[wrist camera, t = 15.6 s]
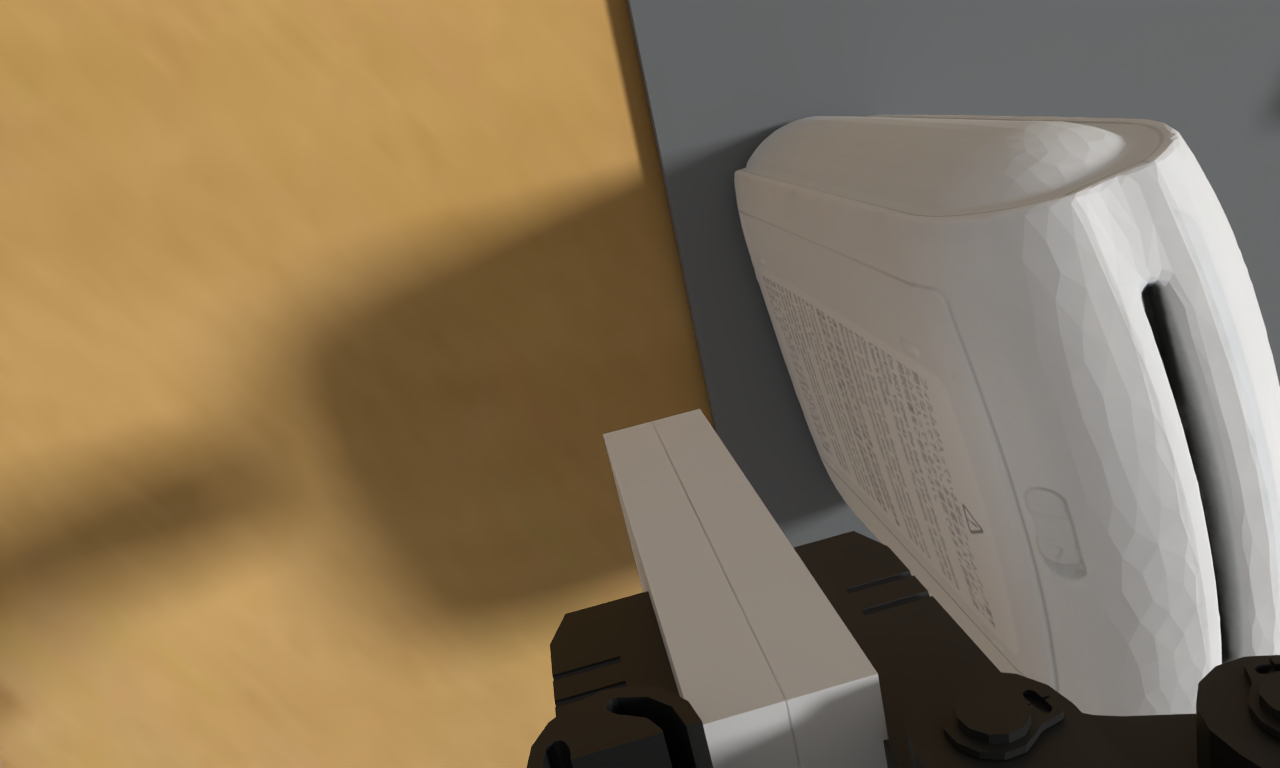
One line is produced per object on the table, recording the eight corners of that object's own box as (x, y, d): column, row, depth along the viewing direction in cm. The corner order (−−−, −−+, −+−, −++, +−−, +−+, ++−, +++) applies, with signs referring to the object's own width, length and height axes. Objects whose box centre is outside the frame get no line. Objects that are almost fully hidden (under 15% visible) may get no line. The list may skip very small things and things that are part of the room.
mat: (1422, -189, 21) (1438, -195, 21) (1384, 414, 26) (1397, 418, 26) (624, -13, 20) (625, -15, 19) (748, 591, 25) (751, 598, 24)
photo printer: (972, 454, 24) (1420, 775, 12) (830, 515, 24) (1144, 898, 12) (870, 86, 21) (1349, 43, 9) (703, 156, 21) (968, 204, 9)
